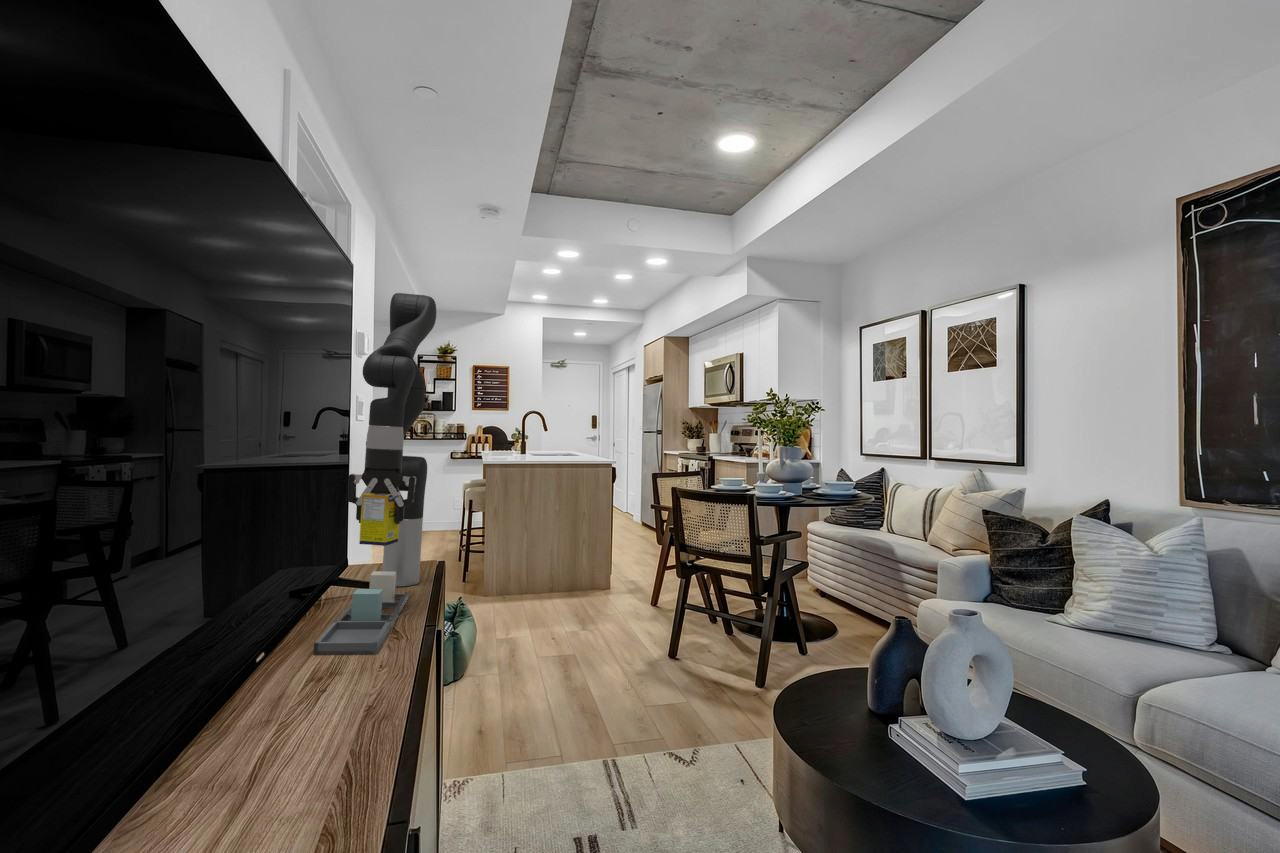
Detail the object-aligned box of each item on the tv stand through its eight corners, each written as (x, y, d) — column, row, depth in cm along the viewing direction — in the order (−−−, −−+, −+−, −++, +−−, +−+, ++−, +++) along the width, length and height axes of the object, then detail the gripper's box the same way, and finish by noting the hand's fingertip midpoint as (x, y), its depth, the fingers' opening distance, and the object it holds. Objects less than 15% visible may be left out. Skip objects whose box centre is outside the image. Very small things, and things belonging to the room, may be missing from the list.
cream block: (371, 601, 148) (373, 571, 148) (394, 601, 149) (396, 571, 149) (368, 606, 144) (370, 575, 144) (391, 606, 145) (393, 575, 145)
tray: (333, 631, 125) (334, 621, 125) (389, 630, 127) (390, 620, 127) (313, 654, 112) (314, 643, 112) (376, 653, 114) (377, 642, 114)
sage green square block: (355, 623, 131) (357, 588, 132) (380, 622, 132) (382, 589, 133) (350, 628, 128) (352, 593, 128) (376, 628, 129) (379, 593, 129)
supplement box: (398, 542, 141) (401, 492, 141) (385, 546, 135) (388, 495, 135) (372, 540, 142) (376, 491, 142) (358, 544, 136) (361, 493, 136)
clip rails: (360, 599, 149) (361, 592, 150) (408, 599, 152) (408, 592, 152) (332, 631, 125) (333, 623, 125) (389, 631, 127) (390, 623, 127)
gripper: (421, 448, 144) (416, 521, 144) (353, 444, 141) (348, 519, 141) (417, 449, 137) (412, 526, 136) (345, 445, 134) (340, 524, 133)
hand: (379, 522), depth 138 cm, fingers closed on supplement box, 7 cm apart
